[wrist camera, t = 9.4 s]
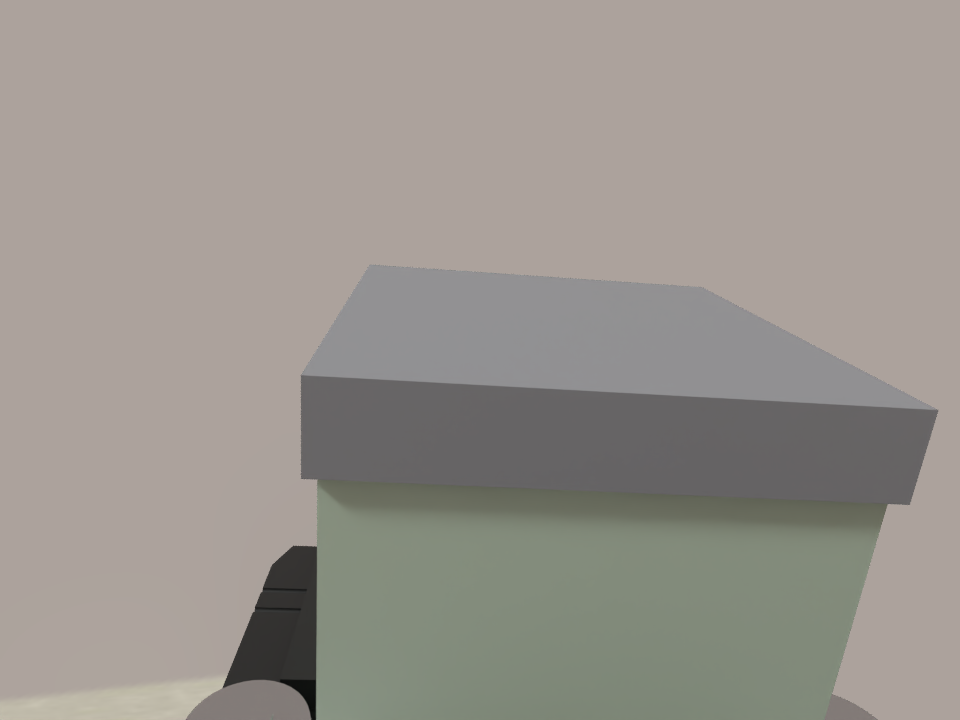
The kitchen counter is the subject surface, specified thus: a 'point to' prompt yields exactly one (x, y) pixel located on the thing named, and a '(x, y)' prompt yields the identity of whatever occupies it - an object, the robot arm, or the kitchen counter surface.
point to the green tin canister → (588, 502)
